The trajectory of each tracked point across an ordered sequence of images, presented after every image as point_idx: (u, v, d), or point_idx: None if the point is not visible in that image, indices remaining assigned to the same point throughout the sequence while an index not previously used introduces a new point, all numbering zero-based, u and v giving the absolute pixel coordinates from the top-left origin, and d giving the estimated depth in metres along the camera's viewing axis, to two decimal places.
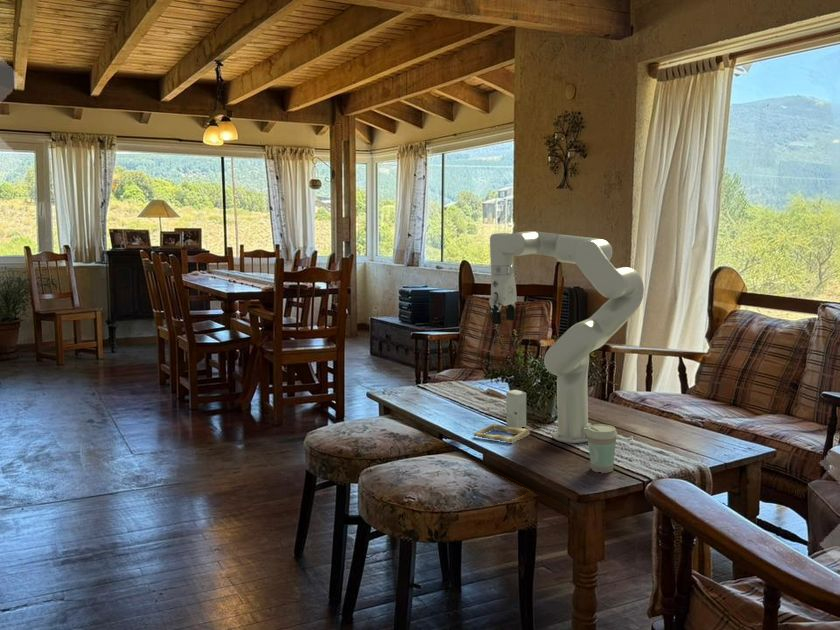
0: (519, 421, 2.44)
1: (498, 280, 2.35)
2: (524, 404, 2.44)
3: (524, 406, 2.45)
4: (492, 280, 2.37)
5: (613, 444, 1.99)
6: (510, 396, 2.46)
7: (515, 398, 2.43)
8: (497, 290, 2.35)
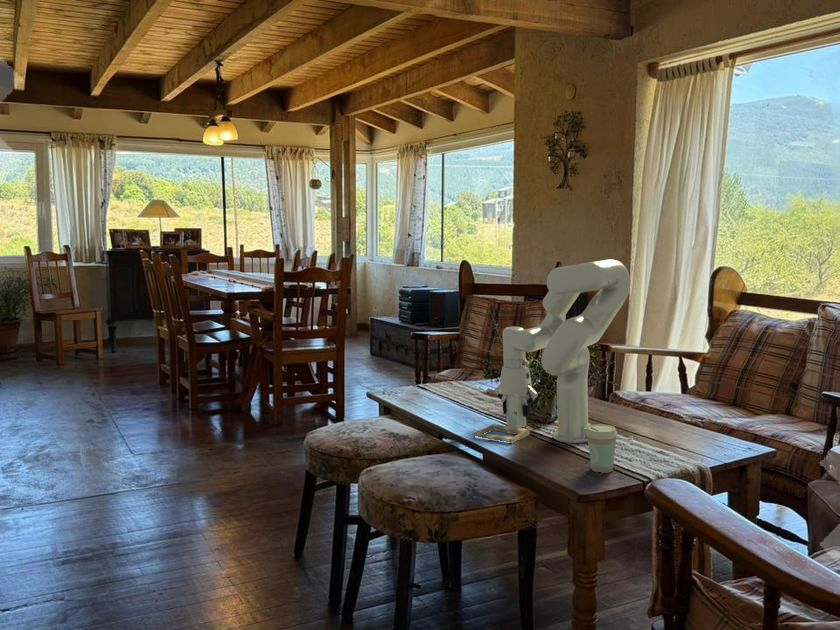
0: (519, 421, 2.44)
1: (528, 371, 2.43)
2: None
3: None
4: (524, 373, 2.41)
5: (613, 444, 1.99)
6: (509, 396, 2.46)
7: (515, 398, 2.43)
8: (529, 381, 2.43)
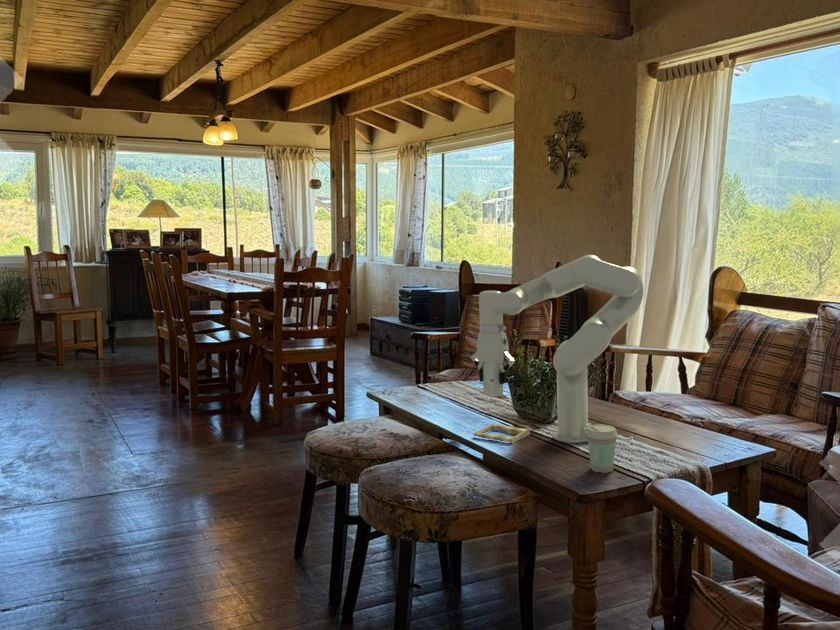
0: (496, 389, 2.35)
1: (505, 337, 2.33)
2: None
3: None
4: (501, 338, 2.31)
5: (613, 444, 1.99)
6: None
7: (491, 365, 2.34)
8: (506, 347, 2.33)
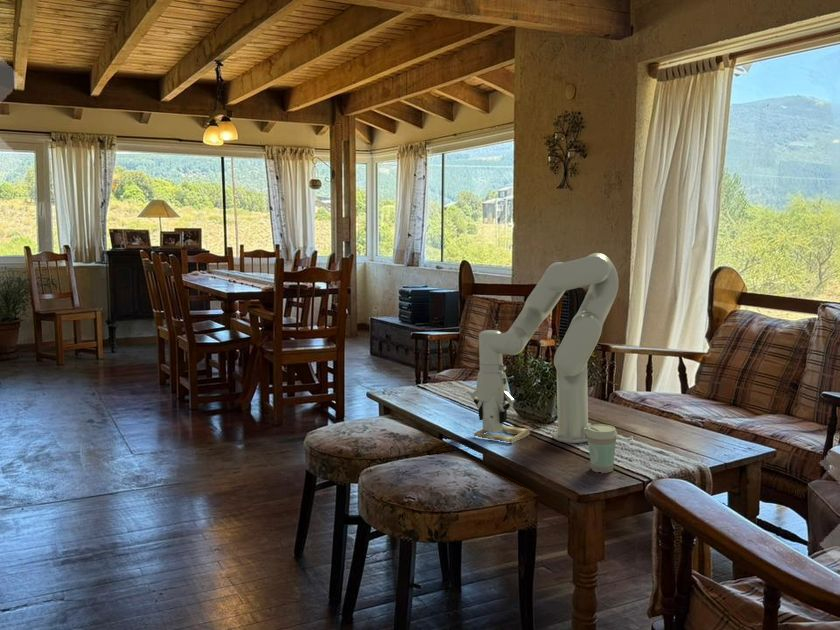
0: (496, 425, 2.36)
1: (505, 377, 2.34)
2: None
3: (500, 410, 2.36)
4: (501, 378, 2.33)
5: (613, 444, 1.99)
6: None
7: (491, 401, 2.35)
8: (506, 387, 2.34)
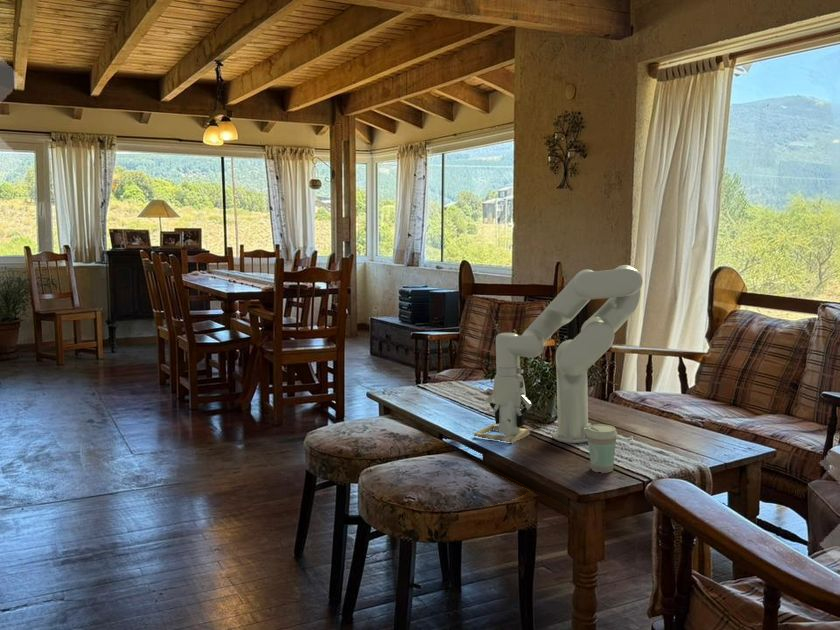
0: (513, 429, 2.32)
1: (522, 380, 2.31)
2: None
3: None
4: (518, 382, 2.29)
5: (613, 444, 1.99)
6: None
7: (509, 405, 2.31)
8: (523, 390, 2.31)
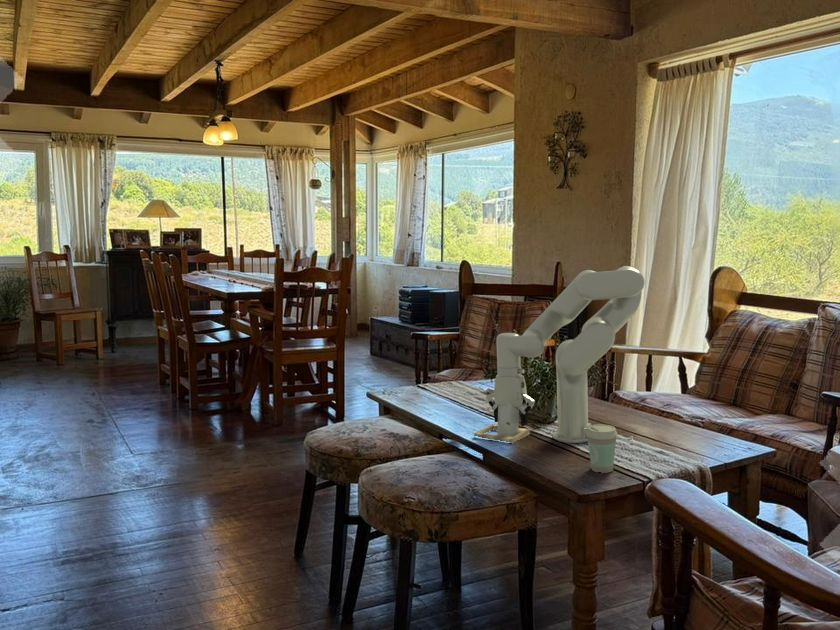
0: (512, 432, 2.33)
1: (523, 380, 2.31)
2: (517, 414, 2.33)
3: (517, 416, 2.33)
4: (519, 382, 2.29)
5: (613, 444, 1.99)
6: None
7: (508, 408, 2.31)
8: (524, 390, 2.31)
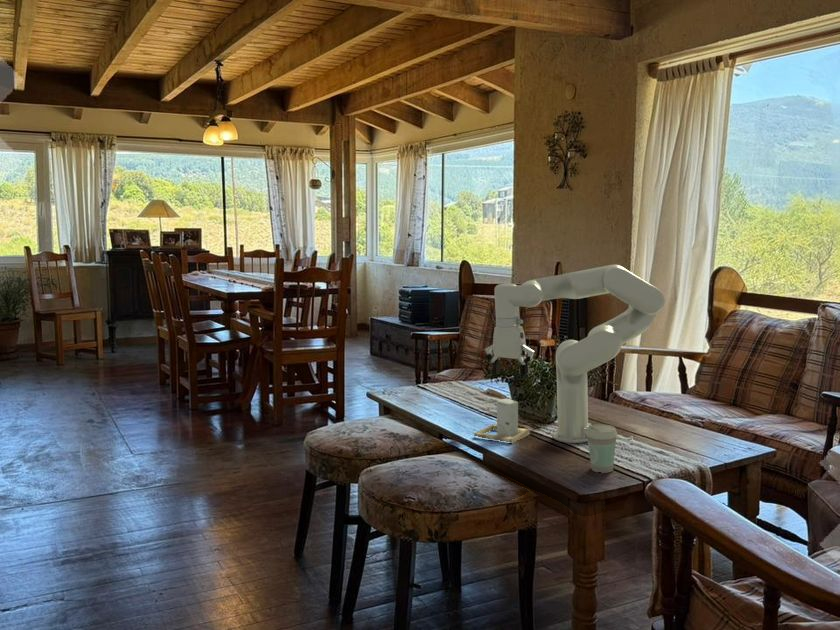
0: (511, 432, 2.33)
1: (522, 331, 2.28)
2: (516, 414, 2.33)
3: (516, 416, 2.33)
4: (518, 332, 2.27)
5: (613, 444, 1.99)
6: (501, 405, 2.34)
7: (507, 408, 2.32)
8: (523, 341, 2.28)
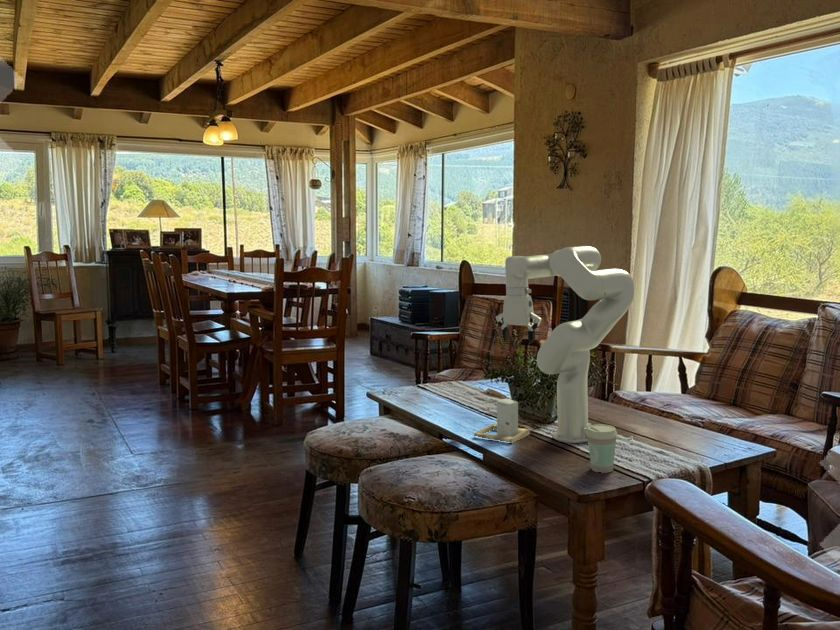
0: (511, 432, 2.33)
1: (531, 300, 2.46)
2: (516, 414, 2.33)
3: (516, 416, 2.33)
4: (527, 301, 2.45)
5: (613, 444, 1.99)
6: (501, 405, 2.34)
7: (507, 408, 2.32)
8: (531, 309, 2.46)
